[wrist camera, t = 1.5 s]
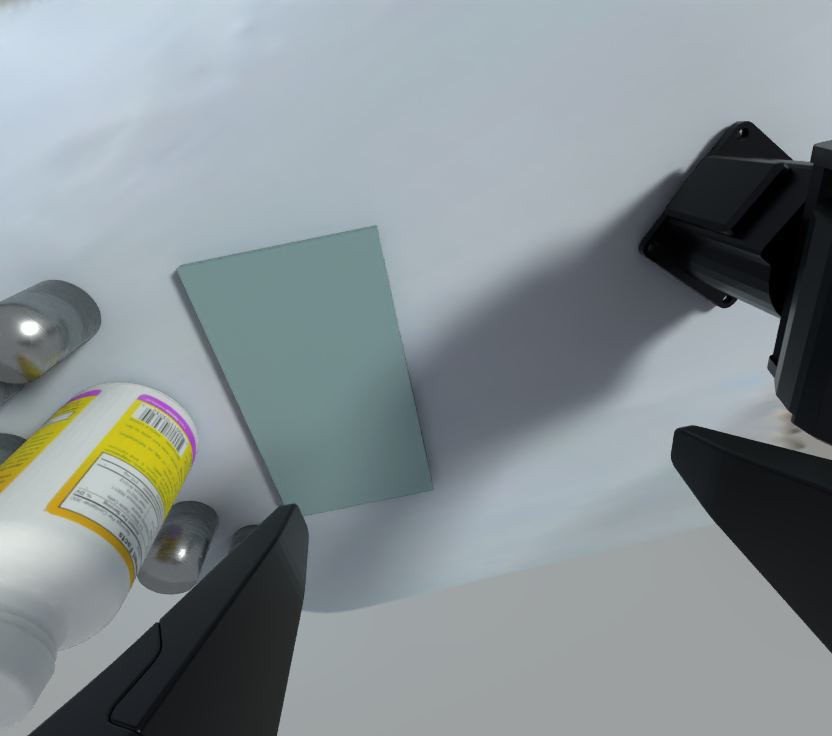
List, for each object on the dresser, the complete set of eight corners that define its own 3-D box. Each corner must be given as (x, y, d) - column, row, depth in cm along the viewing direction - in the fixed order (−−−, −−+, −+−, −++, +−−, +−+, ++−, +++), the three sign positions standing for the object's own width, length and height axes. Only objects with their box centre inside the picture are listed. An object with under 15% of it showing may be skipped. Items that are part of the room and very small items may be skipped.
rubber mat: (376, 225, 20) (376, 227, 19) (432, 482, 28) (433, 489, 27) (181, 265, 20) (176, 269, 19) (291, 511, 28) (290, 518, 27)
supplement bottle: (72, 466, 25) (-176, 752, 13) (65, 364, 22) (-262, 620, 10) (199, 484, 26) (72, 755, 15) (208, 391, 23) (58, 640, 12)
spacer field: (122, 214, 19) (65, 234, 15) (287, 551, 29) (276, 609, 26) (-224, 285, 19) (-360, 321, 15) (67, 596, 29) (27, 659, 26)
